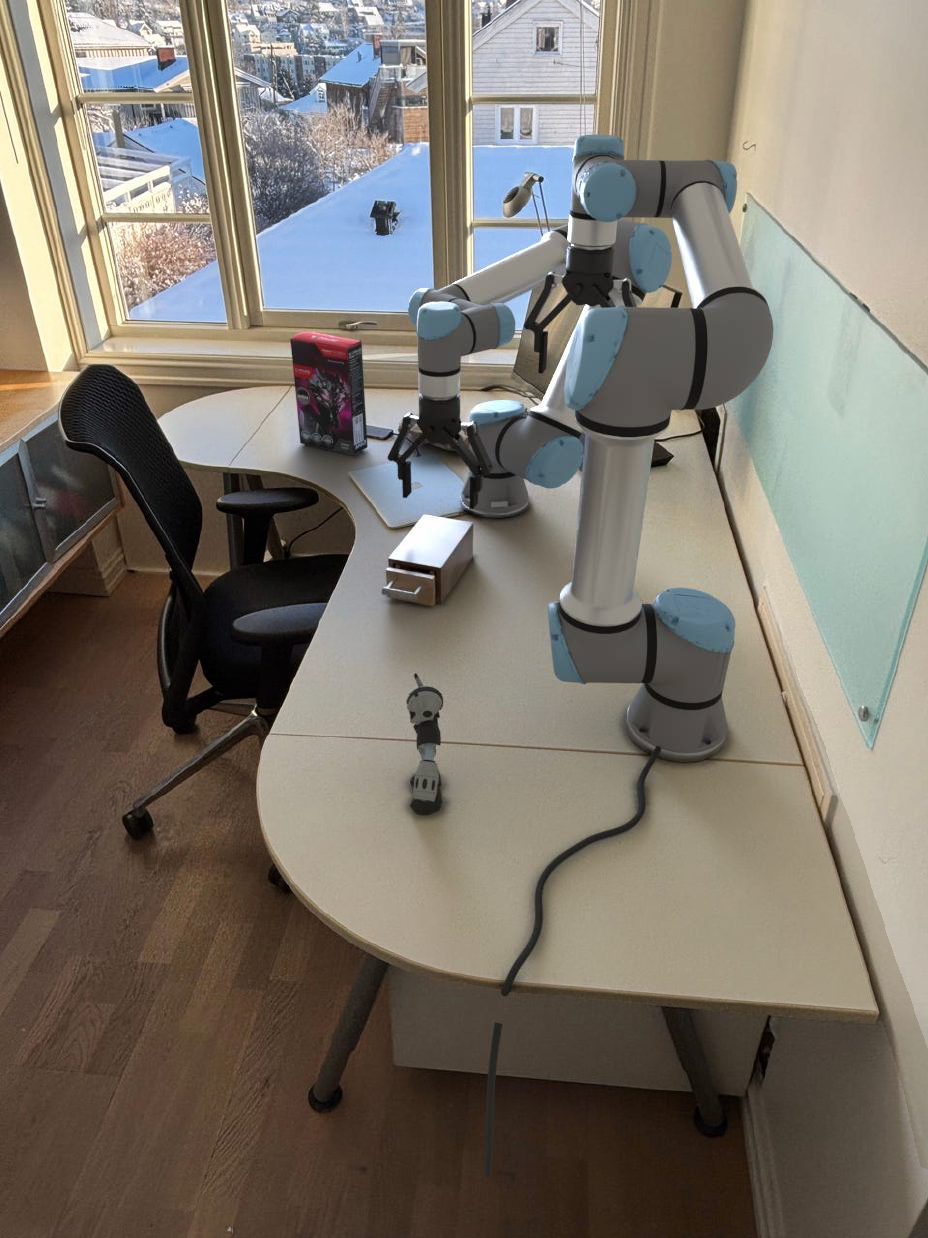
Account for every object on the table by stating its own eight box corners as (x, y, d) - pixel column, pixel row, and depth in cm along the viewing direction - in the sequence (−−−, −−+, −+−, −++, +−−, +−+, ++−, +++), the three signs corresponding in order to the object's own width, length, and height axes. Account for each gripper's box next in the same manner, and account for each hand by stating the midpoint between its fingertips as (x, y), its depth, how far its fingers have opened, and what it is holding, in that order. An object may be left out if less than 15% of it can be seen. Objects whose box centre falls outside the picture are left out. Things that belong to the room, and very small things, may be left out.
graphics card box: (297, 444, 233) (287, 336, 218) (313, 435, 239) (304, 329, 223) (354, 457, 227) (347, 347, 212) (369, 447, 232) (364, 339, 217)
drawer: (422, 621, 166) (422, 593, 163) (375, 611, 169) (374, 584, 165) (464, 561, 184) (464, 535, 181) (420, 553, 186) (420, 527, 183)
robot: (446, 845, 123) (445, 731, 112) (409, 846, 123) (405, 732, 112) (441, 747, 139) (440, 638, 128) (409, 747, 139) (405, 639, 128)
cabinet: (441, 604, 173) (440, 567, 168) (389, 594, 175) (387, 558, 171) (472, 556, 187) (473, 522, 183) (424, 548, 190) (424, 514, 186)
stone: (382, 437, 229) (387, 414, 227) (402, 429, 243) (406, 406, 240) (461, 462, 226) (467, 438, 223) (477, 452, 239) (482, 429, 237)
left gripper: (512, 394, 165) (507, 501, 177) (383, 378, 171) (387, 482, 183) (499, 409, 159) (496, 519, 171) (367, 391, 165) (372, 498, 177)
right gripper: (673, 245, 146) (656, 376, 158) (521, 234, 152) (516, 360, 164) (667, 255, 140) (650, 390, 152) (509, 243, 147) (504, 374, 158)
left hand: (440, 500), depth 177 cm, fingers open, 13 cm apart
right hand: (580, 375), depth 158 cm, fingers open, 13 cm apart
